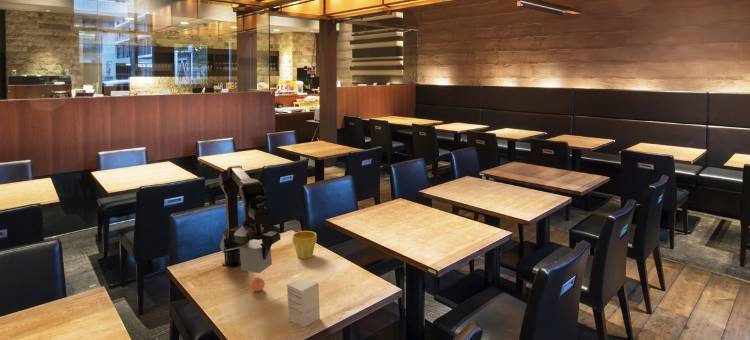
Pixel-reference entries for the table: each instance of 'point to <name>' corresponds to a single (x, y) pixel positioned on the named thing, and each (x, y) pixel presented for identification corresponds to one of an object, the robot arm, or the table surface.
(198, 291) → the table surface
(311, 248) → the plant pot
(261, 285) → the ball
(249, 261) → the grey cube
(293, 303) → the supplement box
